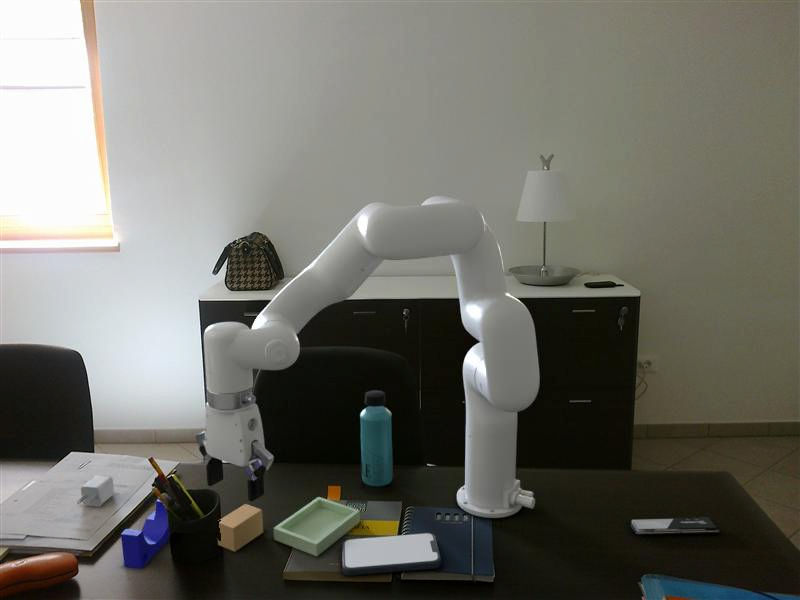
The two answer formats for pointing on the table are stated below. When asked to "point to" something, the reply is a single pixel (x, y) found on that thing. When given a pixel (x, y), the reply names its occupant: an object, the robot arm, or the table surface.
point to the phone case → (390, 554)
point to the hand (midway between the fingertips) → (235, 490)
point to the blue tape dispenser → (145, 538)
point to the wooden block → (240, 527)
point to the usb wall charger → (97, 491)
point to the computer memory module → (674, 526)
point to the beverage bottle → (376, 440)
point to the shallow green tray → (317, 526)
